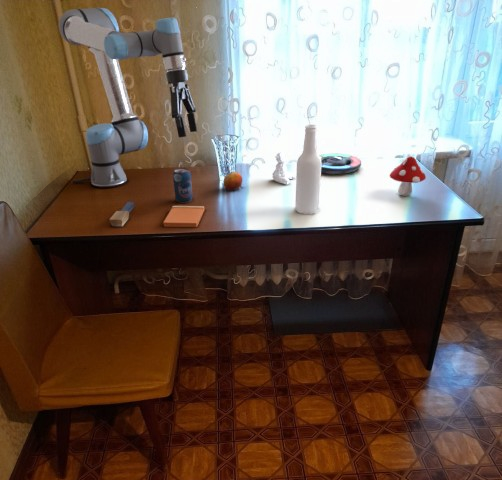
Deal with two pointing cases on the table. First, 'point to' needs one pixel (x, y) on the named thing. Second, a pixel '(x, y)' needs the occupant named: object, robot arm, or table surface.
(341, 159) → the electronic game
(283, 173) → the white creature statuette
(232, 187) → the fruit
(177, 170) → the soda can
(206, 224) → the table surface
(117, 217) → the brush
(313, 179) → the alcohol
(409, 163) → the decorative mushroom
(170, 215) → the orange flat block
